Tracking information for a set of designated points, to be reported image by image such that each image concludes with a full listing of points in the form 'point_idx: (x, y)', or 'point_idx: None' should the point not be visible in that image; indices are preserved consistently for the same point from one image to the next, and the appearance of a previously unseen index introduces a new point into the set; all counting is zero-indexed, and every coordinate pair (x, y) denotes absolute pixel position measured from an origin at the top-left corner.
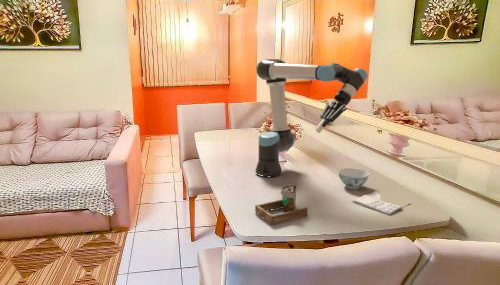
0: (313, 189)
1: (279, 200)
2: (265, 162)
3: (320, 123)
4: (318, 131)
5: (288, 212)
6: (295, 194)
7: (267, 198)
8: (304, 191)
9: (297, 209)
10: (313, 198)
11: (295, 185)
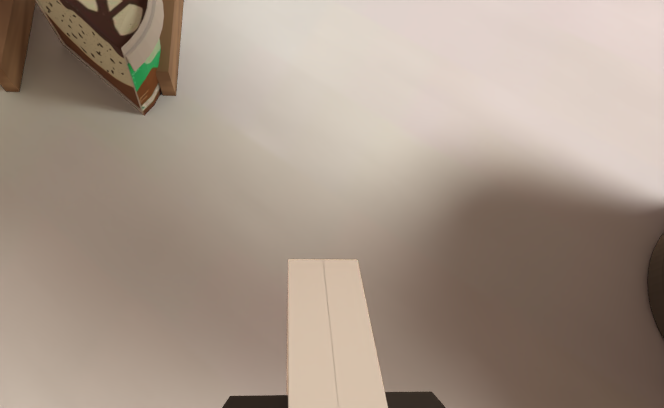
0: None
1: (167, 8)
2: None
3: (334, 379)
4: (287, 315)
5: None
6: (121, 69)
7: (319, 54)
8: None
9: (9, 14)
10: (174, 276)
11: (125, 48)
